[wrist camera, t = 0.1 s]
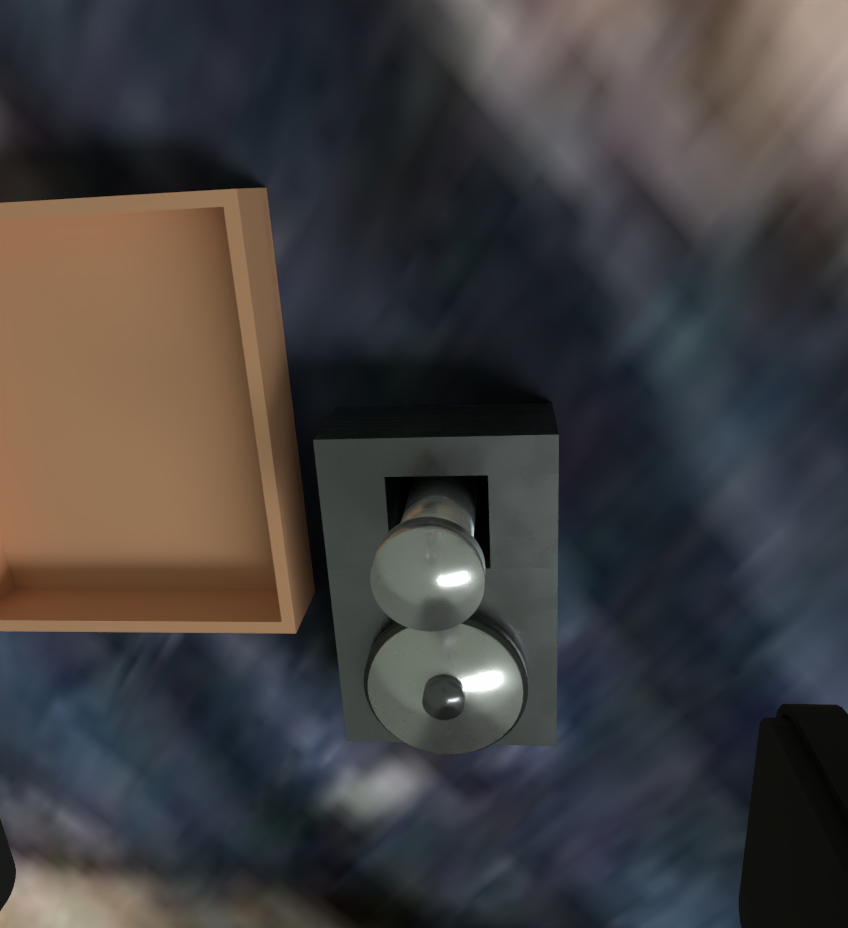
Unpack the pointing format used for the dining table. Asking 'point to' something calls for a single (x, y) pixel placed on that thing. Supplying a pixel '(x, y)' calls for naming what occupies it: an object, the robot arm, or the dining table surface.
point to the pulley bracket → (506, 576)
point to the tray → (147, 419)
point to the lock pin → (432, 557)
